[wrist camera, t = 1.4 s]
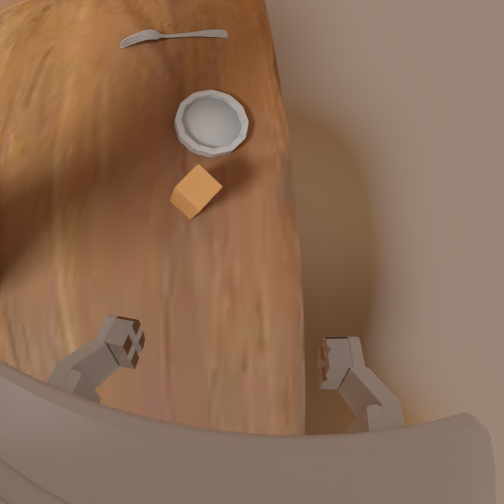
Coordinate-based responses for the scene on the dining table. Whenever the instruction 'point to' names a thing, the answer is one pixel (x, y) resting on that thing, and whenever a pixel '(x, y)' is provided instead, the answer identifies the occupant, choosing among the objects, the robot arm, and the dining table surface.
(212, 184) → the wooden toy brick
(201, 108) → the ring dish
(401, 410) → the robot arm
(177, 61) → the dining table surface
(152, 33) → the fork
